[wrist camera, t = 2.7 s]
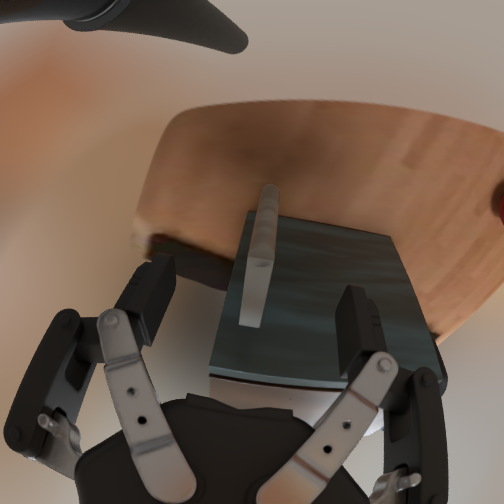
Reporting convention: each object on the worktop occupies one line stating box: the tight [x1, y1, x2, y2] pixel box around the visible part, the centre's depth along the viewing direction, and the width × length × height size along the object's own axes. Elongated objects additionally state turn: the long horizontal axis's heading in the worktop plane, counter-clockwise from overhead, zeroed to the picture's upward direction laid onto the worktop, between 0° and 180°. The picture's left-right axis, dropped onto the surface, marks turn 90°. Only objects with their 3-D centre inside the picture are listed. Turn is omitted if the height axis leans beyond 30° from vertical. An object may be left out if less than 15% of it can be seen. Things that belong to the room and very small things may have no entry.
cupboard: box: [209, 373, 384, 436], centre depth 27 cm, size 12×17×19 cm
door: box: [209, 184, 443, 388], centre depth 21 cm, size 8×17×19 cm, turn 83°
